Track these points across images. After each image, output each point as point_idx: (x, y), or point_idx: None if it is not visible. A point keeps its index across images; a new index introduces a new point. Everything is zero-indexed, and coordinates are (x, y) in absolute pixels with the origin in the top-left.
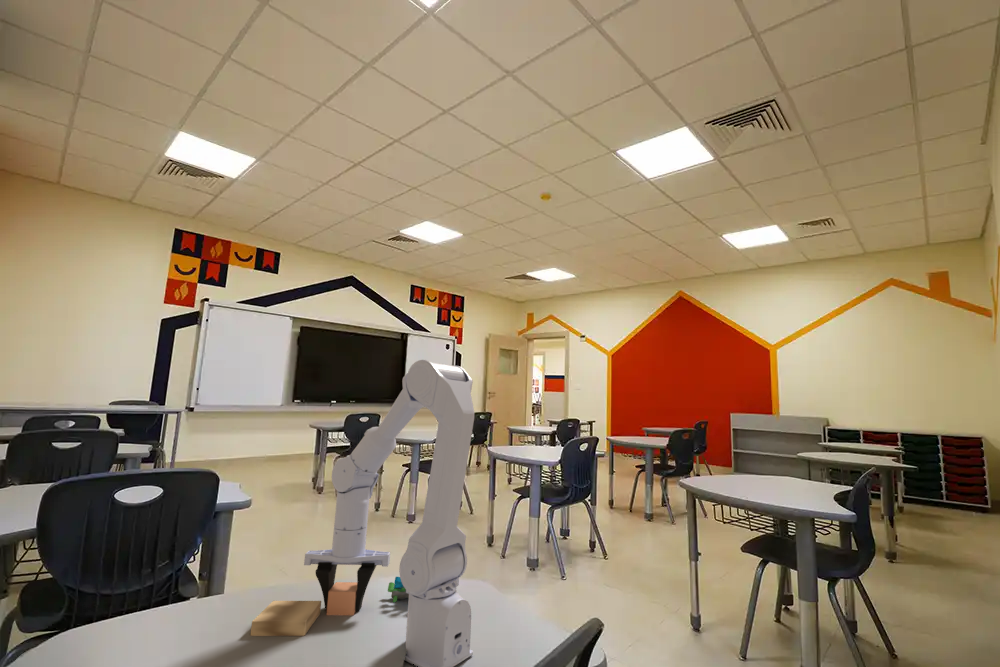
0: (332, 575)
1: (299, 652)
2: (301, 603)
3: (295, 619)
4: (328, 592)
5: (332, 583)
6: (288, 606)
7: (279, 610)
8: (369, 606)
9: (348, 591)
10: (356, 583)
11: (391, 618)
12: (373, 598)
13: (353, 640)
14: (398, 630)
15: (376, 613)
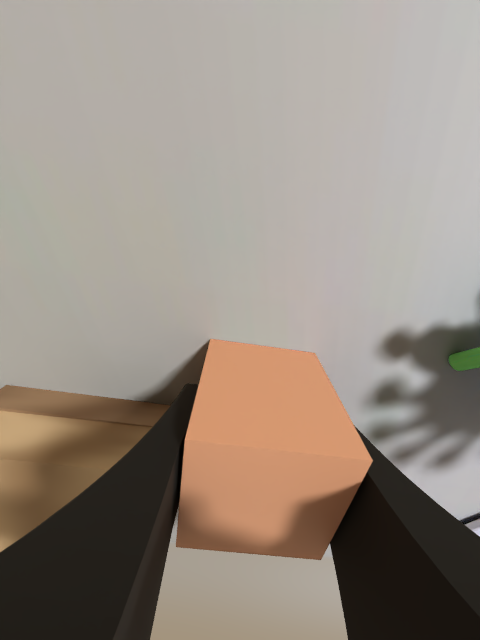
0: (148, 596)
1: (173, 529)
2: (72, 487)
3: None
4: (174, 518)
5: (170, 501)
6: (31, 502)
7: (18, 527)
8: (366, 297)
9: (284, 553)
10: (336, 474)
11: (427, 410)
12: (406, 190)
13: None
14: (423, 477)
15: (383, 368)
